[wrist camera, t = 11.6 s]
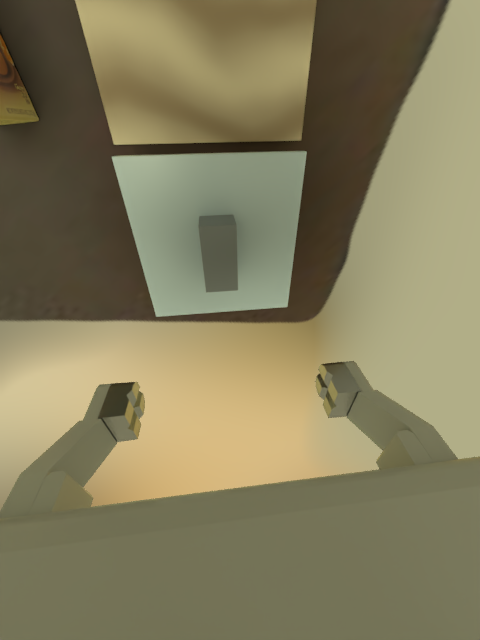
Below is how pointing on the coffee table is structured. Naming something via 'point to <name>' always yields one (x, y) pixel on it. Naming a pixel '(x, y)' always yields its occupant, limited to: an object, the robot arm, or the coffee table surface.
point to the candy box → (13, 93)
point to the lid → (214, 227)
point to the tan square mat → (200, 68)
